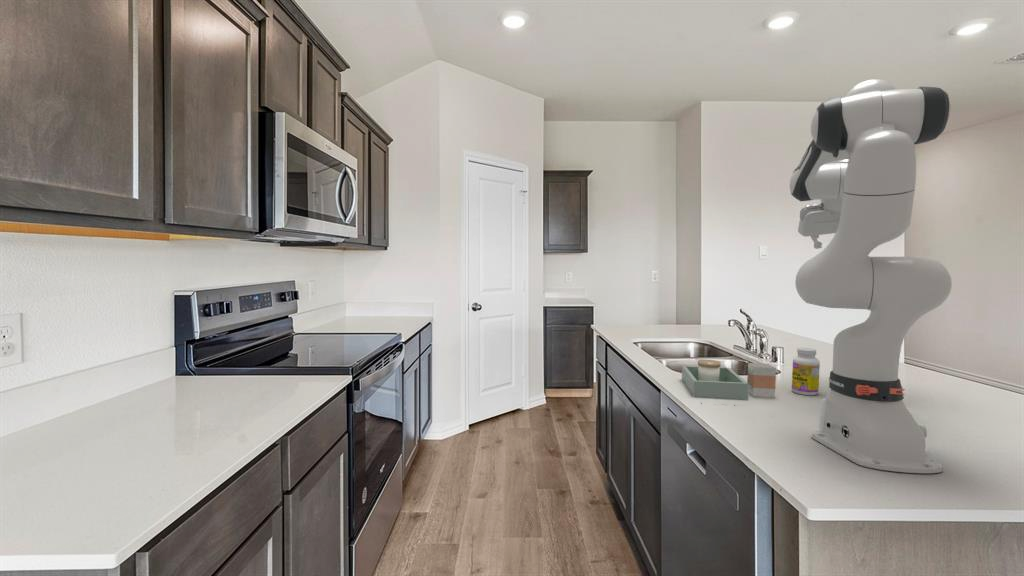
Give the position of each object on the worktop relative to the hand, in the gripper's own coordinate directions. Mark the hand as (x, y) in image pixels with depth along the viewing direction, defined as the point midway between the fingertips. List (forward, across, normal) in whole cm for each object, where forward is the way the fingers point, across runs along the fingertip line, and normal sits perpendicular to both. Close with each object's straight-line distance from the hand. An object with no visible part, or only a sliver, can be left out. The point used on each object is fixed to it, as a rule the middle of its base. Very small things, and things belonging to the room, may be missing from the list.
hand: (834, 246), depth 145 cm
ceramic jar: (+33, -42, -20) cm, 57 cm away
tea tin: (+31, -31, -29) cm, 53 cm away
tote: (+31, -43, -25) cm, 58 cm away
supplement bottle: (+35, -17, -24) cm, 46 cm away
